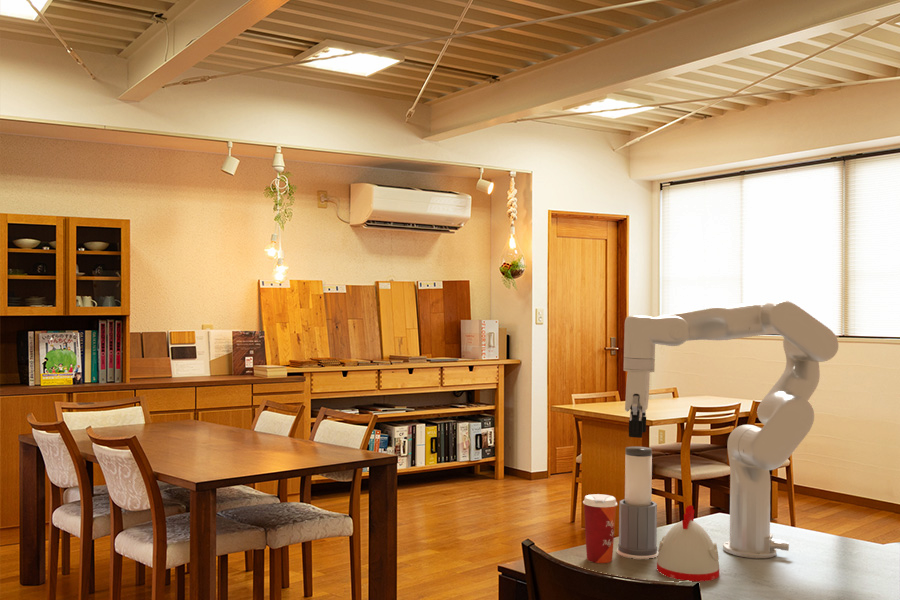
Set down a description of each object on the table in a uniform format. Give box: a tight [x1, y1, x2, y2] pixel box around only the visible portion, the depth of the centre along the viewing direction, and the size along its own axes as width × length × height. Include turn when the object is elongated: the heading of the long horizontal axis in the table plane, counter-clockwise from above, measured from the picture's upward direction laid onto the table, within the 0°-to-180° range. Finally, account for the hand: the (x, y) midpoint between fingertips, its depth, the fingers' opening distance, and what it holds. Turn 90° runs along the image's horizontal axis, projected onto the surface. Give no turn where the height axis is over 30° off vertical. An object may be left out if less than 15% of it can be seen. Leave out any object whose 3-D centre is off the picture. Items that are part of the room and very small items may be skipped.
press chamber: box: [616, 498, 659, 560], centre depth 206 cm, size 10×10×12 cm
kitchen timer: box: [656, 505, 720, 582], centre depth 193 cm, size 14×14×15 cm
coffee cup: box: [582, 493, 618, 564], centre depth 201 cm, size 8×8×15 cm
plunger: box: [624, 446, 653, 506], centre depth 207 cm, size 6×6×17 cm
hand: (637, 434), depth 207 cm, fingers open, 9 cm apart
